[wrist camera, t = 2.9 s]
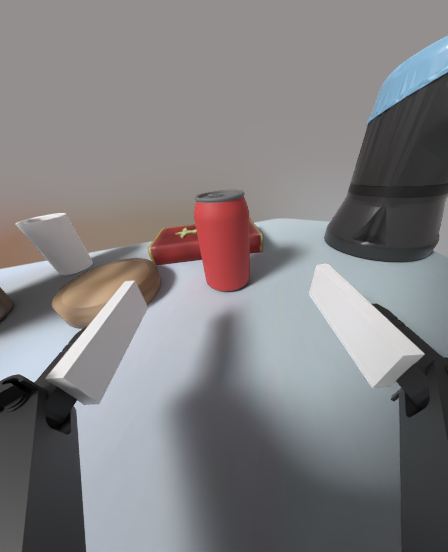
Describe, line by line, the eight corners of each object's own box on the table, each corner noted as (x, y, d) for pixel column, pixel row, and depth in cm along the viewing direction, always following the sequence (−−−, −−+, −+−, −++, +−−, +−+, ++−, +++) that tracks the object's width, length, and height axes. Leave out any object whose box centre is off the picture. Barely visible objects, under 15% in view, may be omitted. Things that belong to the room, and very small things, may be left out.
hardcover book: (262, 254, 32) (263, 233, 29) (154, 268, 31) (146, 248, 29) (249, 233, 42) (249, 216, 39) (167, 243, 41) (161, 226, 39)
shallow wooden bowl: (170, 267, 30) (166, 254, 29) (142, 324, 19) (133, 309, 18) (101, 273, 31) (94, 261, 29) (37, 332, 20) (21, 318, 18)
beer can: (228, 264, 29) (220, 188, 22) (258, 278, 25) (261, 189, 18) (198, 281, 26) (178, 197, 19) (227, 300, 21) (217, 201, 15)
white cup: (95, 267, 33) (63, 216, 27) (54, 281, 30) (8, 227, 24) (95, 256, 38) (67, 211, 32) (59, 267, 35) (21, 219, 29)
